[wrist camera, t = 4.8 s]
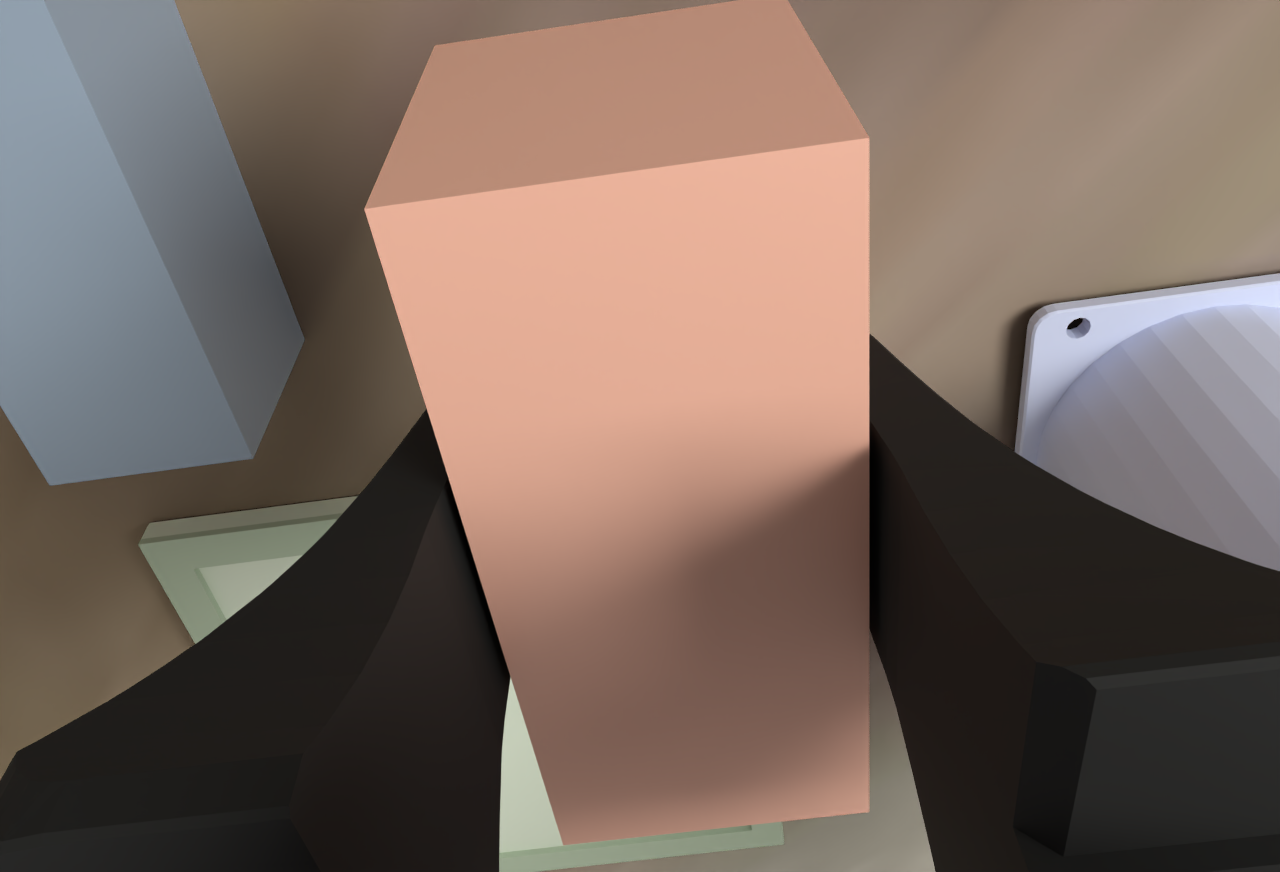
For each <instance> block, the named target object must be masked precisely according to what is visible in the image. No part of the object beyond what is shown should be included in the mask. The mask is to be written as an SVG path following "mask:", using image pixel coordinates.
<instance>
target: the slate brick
mask: <svg viewBox="0 0 1280 872" xmlns="http://www.w3.org/2000/svg"><path fill="white" fill-rule="evenodd" d="M304 341H305V339H304V336H303V333H302V331H301V328H300V326H299V323H298V320H297V318H296V315H295V313H294V310H293V308H292V305H291V302H290V300H289V297H288V295H287V292H286V289H285V287H284V284H283V282H282V279H281V276H280V274H279V271H278V269H277V266H276V263H275V261H274V258H273V256H272V253H271V250H270V248H269V245H268V243H267V240H266V237H265V235H264V232H263V230H262V227H261V225H260V222H259V219H258V217H257V214H256V212H255V209H254V206H253V204H252V201H251V199H250V196H249V193H248V191H247V188H246V186H245V183H244V180H243V178H242V175H241V173H240V170H239V167H238V165H237V162H236V160H235V157H234V154H233V152H232V149H231V147H230V144H229V142H228V139H227V136H226V134H225V131H224V129H223V126H222V123H221V121H220V118H219V116H218V113H217V110H216V108H215V105H214V103H213V100H212V97H211V95H210V92H209V90H208V87H207V84H206V82H205V79H204V77H203V74H202V71H201V69H200V66H199V64H198V61H197V59H196V56H195V53H194V51H193V48H192V46H191V43H190V40H189V38H188V35H187V33H186V30H185V27H184V25H183V22H182V20H181V17H180V14H179V12H178V9H177V7H176V4H175V1H174V0H0V406H1V408H2V409H3V411H4V413H5V414H6V416H7V417H8V419H9V421H10V422H11V424H12V426H13V427H14V429H15V430H16V432H17V434H18V435H19V437H20V438H21V440H22V442H23V443H24V445H25V447H26V448H27V450H28V451H29V453H30V455H31V456H32V458H33V459H34V461H35V463H36V464H37V466H38V468H39V469H40V471H41V472H42V474H43V476H44V477H45V479H46V480H47V482H48V484H49V485H50V486H52V485H59V484H67V483H74V482H82V481H89V480H97V479H104V478H112V477H119V476H127V475H135V474H142V473H150V472H157V471H165V470H172V469H180V468H187V467H195V466H202V465H210V464H217V463H225V462H232V461H240V460H247V459H253V458H254V456H255V454H256V451H257V449H258V447H259V444H260V442H261V440H262V437H263V435H264V433H265V431H266V428H267V426H268V424H269V421H270V419H271V417H272V414H273V412H274V410H275V407H276V405H277V403H278V401H279V398H280V396H281V394H282V391H283V389H284V387H285V384H286V382H287V380H288V378H289V375H290V373H291V371H292V368H293V366H294V364H295V361H296V359H297V357H298V354H299V352H300V350H301V348H302V345H303V343H304Z"/></svg>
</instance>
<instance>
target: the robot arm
mask: <svg viewBox="0 0 1280 872" xmlns="http://www.w3.org/2000/svg"><path fill="white" fill-rule="evenodd" d="M1078 318H1084V319H1083V321H1082V323H1081V324H1080V325H1079V326H1078V327H1076V328H1074V329H1071V330H1070V329H1067V327H1068V325H1069V324H1070V323H1071V322H1072V321H1073V320H1075V319H1078ZM869 629H870V632H871V634H872V637H873V640H874V643H875V645H876V648H877V651H878V653H879V656H880V659H881V662H882V664H883V667H884V670H885V673H886V675H887V679H888V682H889V685H890V688H891V691H892V695H893V698H894V701H895V704H896V708H897V712H898V716H899V720H900V724H901V728H902V732H903V736H904V740H905V744H906V748H907V752H908V756H909V760H910V764H911V768H912V772H913V776H914V781H915V785H916V789H917V793H918V798H919V802H920V806H921V810H922V815H923V819H924V823H925V827H926V832H927V836H928V840H929V844H930V849H931V853H932V857H933V862H934V866H935V871H936V872H1280V273H1278V274H1270V275H1263V276H1255V277H1248V278H1241V279H1233V280H1226V281H1218V282H1211V283H1204V284H1196V285H1189V286H1181V287H1174V288H1167V289H1159V290H1152V291H1144V292H1137V293H1130V294H1122V295H1115V296H1107V297H1100V298H1092V299H1085V300H1078V301H1070V302H1063V303H1055V304H1050V305H1047V306H1044V307H1042V308H1040V309H1039V310H1037V311H1036V312H1035V313H1034V314H1033V316H1032V317H1031V318H1030V320H1029V323H1028V326H1027V335H1026V345H1025V355H1024V365H1023V374H1022V384H1021V394H1020V404H1019V414H1018V424H1017V433H1016V443H1015V452H1014V451H1013V450H1011V449H1010V448H1008V447H1007V446H1005V445H1004V444H1002V443H1001V442H1000V441H998V440H997V439H995V438H994V437H992V436H991V435H989V434H988V433H987V432H985V431H984V430H982V429H981V428H979V427H978V426H977V425H976V424H974V423H973V422H972V421H970V420H969V419H968V418H966V417H965V416H964V415H963V414H961V413H960V412H959V411H958V410H956V409H955V408H954V407H953V406H952V405H950V404H949V403H948V402H947V401H945V400H944V399H943V398H942V397H940V396H939V395H938V394H937V393H936V392H934V391H933V390H932V389H931V388H930V387H928V386H927V385H926V384H925V383H924V382H923V381H922V380H920V379H919V378H918V377H917V376H916V375H915V374H914V373H913V372H911V371H910V370H909V369H908V368H907V367H906V366H905V365H904V364H903V363H901V362H900V361H899V360H898V359H897V358H896V357H895V356H894V355H893V354H892V353H891V352H889V351H888V350H887V349H886V348H885V347H884V346H883V345H882V344H881V343H880V342H879V341H878V340H876V339H875V338H874V337H873V336H872V335H871V334H869ZM510 678H511V677H510V673H509V670H508V667H507V664H506V661H505V657H504V654H503V651H502V648H501V645H500V641H499V638H498V635H497V632H496V629H495V625H494V622H493V619H492V616H491V613H490V609H489V606H488V603H487V600H486V597H485V593H484V590H483V587H482V584H481V581H480V577H479V574H478V571H477V568H476V565H475V561H474V558H473V555H472V552H471V549H470V545H469V542H468V539H467V536H466V533H465V529H464V526H463V523H462V520H461V517H460V513H459V510H458V507H457V504H456V501H455V497H454V494H453V491H452V488H451V485H450V481H449V478H448V475H447V472H446V469H445V465H444V462H443V459H442V456H441V453H440V450H439V446H438V443H437V440H436V437H435V434H434V430H433V427H432V424H431V421H430V418H429V414H428V411H427V409H426V410H425V412H424V413H423V414H422V416H421V417H420V418H419V420H418V421H417V422H416V424H415V425H414V426H413V428H412V429H411V430H410V432H409V433H408V434H407V436H406V437H405V438H404V440H403V441H402V442H401V444H400V445H399V446H398V448H397V449H396V450H395V452H394V453H393V454H392V455H391V457H390V458H389V459H388V460H387V462H386V463H385V464H384V465H383V467H382V468H381V469H380V470H379V472H378V473H377V474H376V476H375V477H374V478H373V479H372V481H371V482H370V483H369V484H368V486H367V487H366V488H365V489H364V490H363V491H362V492H361V493H360V495H359V496H358V497H357V498H356V499H355V500H354V501H353V502H352V504H351V505H350V506H349V507H348V508H347V509H346V510H345V511H344V513H343V514H342V515H341V516H340V517H339V518H338V519H337V520H336V522H335V523H334V524H333V525H332V526H331V527H330V528H329V529H328V530H327V532H326V533H325V534H324V535H323V536H322V537H321V538H320V539H319V540H318V541H317V542H316V543H315V544H314V545H313V546H312V547H311V548H310V549H309V550H308V551H307V552H306V553H305V554H304V555H303V556H302V557H300V558H299V559H298V560H297V561H296V562H295V563H294V564H293V565H292V566H291V567H290V568H288V569H287V570H286V571H285V572H284V573H283V574H282V575H281V576H280V577H279V578H278V579H276V580H275V581H274V582H273V583H272V584H271V585H270V586H268V587H267V588H266V589H265V590H264V591H263V592H262V593H260V594H259V595H258V596H256V597H255V598H254V599H253V600H251V601H250V602H249V603H248V604H246V605H245V606H244V607H243V608H241V609H240V610H239V611H237V612H236V613H235V614H234V615H232V616H231V617H230V618H229V619H227V620H226V621H225V622H223V623H222V624H221V625H220V626H218V627H217V628H216V629H215V630H213V631H212V632H211V633H210V634H208V635H207V636H206V637H204V638H203V639H202V640H200V641H199V642H197V643H196V644H195V645H193V646H192V647H190V648H189V649H187V650H186V651H185V652H183V653H182V654H180V655H179V656H177V657H176V658H175V659H173V660H172V661H170V662H169V663H167V664H166V665H164V666H163V667H161V668H160V669H158V670H157V671H155V672H154V673H152V674H150V675H149V676H147V677H146V678H144V679H143V680H141V681H140V682H138V683H137V684H135V685H134V686H132V687H130V688H129V689H127V690H126V691H124V692H122V693H121V694H119V695H117V696H116V697H114V698H112V699H111V700H109V701H108V702H106V703H104V704H102V705H101V706H99V707H97V708H95V709H93V710H92V711H90V712H88V713H86V714H85V715H83V716H81V717H79V718H77V719H76V720H74V721H72V722H70V723H69V724H67V725H65V726H63V727H61V728H60V729H58V730H56V731H54V732H53V733H51V734H49V735H47V736H45V737H44V738H42V739H40V740H38V741H37V742H35V743H33V744H31V745H29V746H27V747H25V748H23V749H21V750H19V751H17V753H16V754H15V756H14V758H13V759H12V761H11V763H10V764H9V766H8V768H7V770H6V772H5V773H4V775H3V777H2V779H1V781H0V872H499V847H500V798H501V763H502V744H503V733H504V722H505V714H506V707H507V699H508V692H509V685H510Z"/></svg>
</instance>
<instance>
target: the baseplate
mask: <svg viewBox="0 0 1280 872" xmlns="http://www.w3.org/2000/svg"><path fill="white" fill-rule="evenodd" d="M357 497H358V496H353V497H345V498H338V499H330V500H322V501H315V502H307V503H299V504H292V505H284V506H276V507H268V508H261V509H253V510H245V511H238V512H230V513H222V514H215V515H207V516H199V517H191V518H184V519H176V520H168V521H161V522H153V523H149V525H148V526H147V528H146V530H145V532H144V534H143V536H142V538H141V540H140V542H139V544H138V545H139V547H140V549H141V551H142V552H143V554H144V556H145V558H146V559H147V561H148V563H149V565H150V566H151V568H152V570H153V571H154V573H155V575H156V577H157V578H158V580H159V582H160V584H161V585H162V587H163V589H164V591H165V592H166V594H167V596H168V598H169V599H170V601H171V603H172V604H173V606H174V608H175V610H176V611H177V613H178V615H179V617H180V618H181V620H182V622H183V624H184V625H185V627H186V629H187V630H188V632H189V634H190V636H191V637H192V639H193V641H194V643H195V644H196V643H197V642H199V641H200V640H202V639H203V638H204V637H206V636H207V635H208V634H210V633H211V632H212V631H213V630H215V629H216V628H217V627H218V626H220V625H221V624H222V623H223V622H225V621H226V620H227V619H229V618H230V617H231V616H232V615H234V614H235V613H236V612H237V611H239V610H240V609H241V608H243V607H244V606H245V605H246V604H248V603H249V602H250V601H251V600H253V599H254V598H255V597H256V596H258V595H259V594H260V593H262V592H263V591H264V590H265V589H266V588H267V587H268V586H270V585H271V584H272V583H273V582H274V581H275V580H276V579H278V578H279V577H280V576H281V575H282V574H283V573H284V572H285V571H286V570H287V569H288V568H290V567H291V566H292V565H293V564H294V563H295V562H296V561H297V560H298V559H299V558H300V557H302V556H303V555H304V554H305V553H306V552H307V551H308V550H309V549H310V548H311V547H312V546H313V545H314V544H315V543H316V542H317V541H318V540H319V539H320V538H321V537H322V536H323V535H324V534H325V533H326V532H327V530H328V529H329V528H330V527H331V526H332V525H333V524H334V523H335V522H336V520H337V519H338V518H339V517H340V516H341V515H342V514H343V513H344V511H345V510H346V509H347V508H348V507H349V506H350V505H351V504H352V502H353V501H354V500H355V499H356V498H357ZM775 845H784V836H783V825H782V822H774V823H765V824H755V825H746V826H737V827H728V828H718V829H709V830H700V831H691V832H682V833H672V834H663V835H654V836H645V837H636V838H626V839H617V840H608V841H599V842H590V843H580V844H571V845H563V843H562V840H561V836H560V833H559V830H558V827H557V824H556V820H555V817H554V814H553V811H552V808H551V804H550V801H549V798H548V795H547V792H546V788H545V785H544V782H543V779H542V776H541V772H540V769H539V766H538V763H537V760H536V757H535V753H534V750H533V747H532V744H531V741H530V737H529V734H528V731H527V728H526V725H525V721H524V718H523V715H522V712H521V709H520V705H519V702H518V699H517V696H516V693H515V689H514V686H513V683H512V680H511V678H510V685H509V692H508V699H507V707H506V714H505V722H504V733H503V744H502V763H501V798H500V847H499V872H538V871H547V870H556V869H565V868H575V867H584V866H593V865H602V864H611V863H620V862H629V861H638V860H647V859H656V858H665V857H675V856H684V855H693V854H702V853H711V852H720V851H729V850H738V849H747V848H756V847H766V846H775Z"/></svg>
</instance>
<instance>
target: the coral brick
mask: <svg viewBox="0 0 1280 872" xmlns="http://www.w3.org/2000/svg"><path fill="white" fill-rule="evenodd" d="M364 210H365V213H366V216H367V219H368V222H369V226H370V229H371V232H372V235H373V238H374V242H375V245H376V248H377V251H378V254H379V258H380V261H381V264H382V267H383V270H384V274H385V277H386V280H387V283H388V286H389V290H390V293H391V296H392V299H393V302H394V306H395V309H396V312H397V315H398V318H399V322H400V325H401V328H402V331H403V334H404V338H405V341H406V344H407V347H408V350H409V354H410V357H411V360H412V363H413V366H414V370H415V373H416V376H417V379H418V382H419V386H420V389H421V392H422V395H423V398H424V402H425V405H426V408H427V411H428V414H429V418H430V421H431V424H432V427H433V430H434V434H435V437H436V440H437V443H438V446H439V450H440V453H441V456H442V459H443V462H444V465H445V469H446V472H447V475H448V478H449V481H450V485H451V488H452V491H453V494H454V497H455V501H456V504H457V507H458V510H459V513H460V517H461V520H462V523H463V526H464V529H465V533H466V536H467V539H468V542H469V545H470V549H471V552H472V555H473V558H474V561H475V565H476V568H477V571H478V574H479V577H480V581H481V584H482V587H483V590H484V593H485V597H486V600H487V603H488V606H489V609H490V613H491V616H492V619H493V622H494V625H495V629H496V632H497V635H498V638H499V641H500V645H501V648H502V651H503V654H504V657H505V661H506V664H507V667H508V670H509V673H510V677H511V680H512V683H513V686H514V689H515V693H516V696H517V699H518V702H519V705H520V709H521V712H522V715H523V718H524V721H525V725H526V728H527V731H528V734H529V737H530V741H531V744H532V747H533V750H534V753H535V757H536V760H537V763H538V766H539V769H540V772H541V776H542V779H543V782H544V785H545V788H546V792H547V795H548V798H549V801H550V804H551V808H552V811H553V814H554V817H555V820H556V824H557V827H558V830H559V833H560V836H561V840H562V843H563V845H571V844H580V843H590V842H599V841H608V840H617V839H626V838H636V837H645V836H654V835H663V834H672V833H682V832H691V831H700V830H709V829H718V828H728V827H737V826H746V825H755V824H765V823H774V822H783V821H792V820H801V819H811V818H820V817H829V816H838V815H847V814H857V813H866V812H869V136H868V135H867V133H866V131H865V130H864V128H863V126H862V125H861V123H860V121H859V120H858V118H857V116H856V115H855V113H854V111H853V110H852V108H851V106H850V105H849V103H848V101H847V99H846V98H845V96H844V94H843V93H842V91H841V89H840V88H839V86H838V84H837V83H836V81H835V79H834V78H833V76H832V74H831V73H830V71H829V69H828V68H827V66H826V64H825V62H824V61H823V59H822V57H821V56H820V54H819V52H818V51H817V49H816V47H815V46H814V44H813V42H812V41H811V39H810V37H809V36H808V34H807V32H806V31H805V29H804V27H803V25H802V24H801V22H800V20H799V19H798V17H797V15H796V14H795V12H794V10H793V9H792V7H791V5H790V4H789V2H788V0H737V1H731V2H724V3H717V4H710V5H704V6H697V7H690V8H684V9H677V10H670V11H663V12H657V13H650V14H643V15H636V16H630V17H623V18H616V19H609V20H603V21H596V22H589V23H583V24H576V25H569V26H562V27H556V28H549V29H542V30H535V31H529V32H522V33H515V34H508V35H502V36H495V37H488V38H482V39H475V40H468V41H461V42H455V43H448V44H441V45H435V46H434V48H433V51H432V53H431V55H430V58H429V60H428V62H427V65H426V67H425V69H424V72H423V74H422V76H421V79H420V81H419V83H418V86H417V88H416V90H415V92H414V95H413V97H412V99H411V102H410V104H409V106H408V109H407V111H406V113H405V116H404V118H403V120H402V123H401V125H400V127H399V130H398V132H397V134H396V137H395V139H394V141H393V144H392V146H391V148H390V150H389V153H388V155H387V157H386V160H385V162H384V164H383V167H382V169H381V171H380V174H379V176H378V178H377V181H376V183H375V185H374V188H373V190H372V192H371V195H370V197H369V199H368V201H367V204H366V206H365V208H364Z"/></svg>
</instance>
